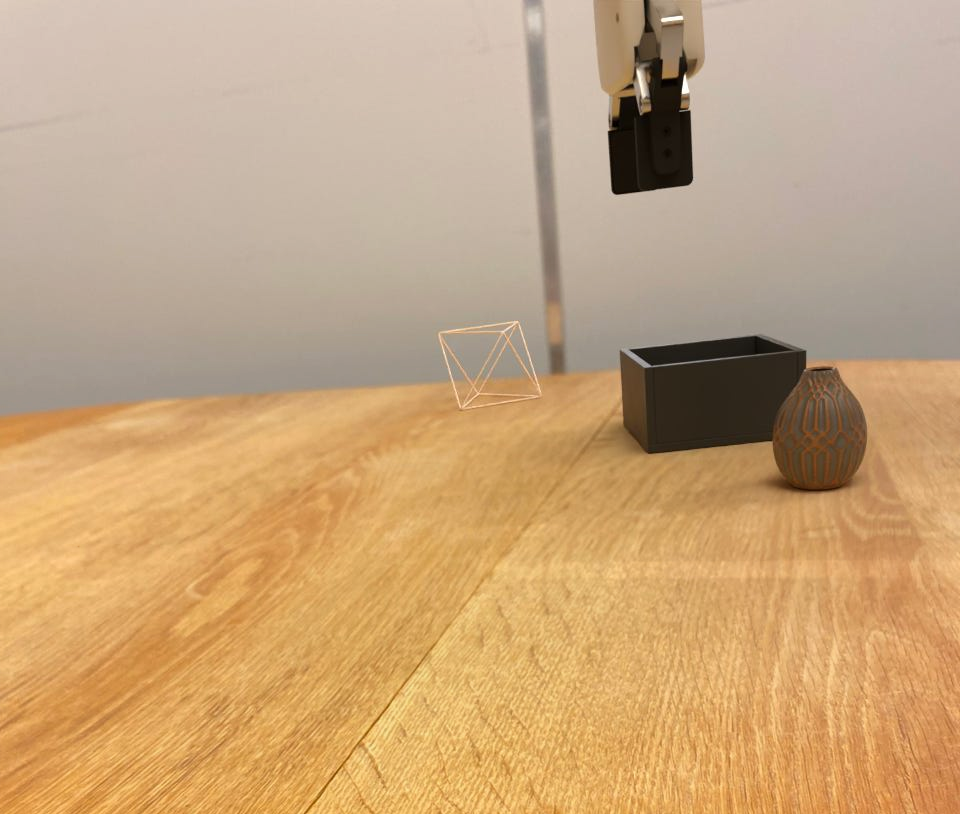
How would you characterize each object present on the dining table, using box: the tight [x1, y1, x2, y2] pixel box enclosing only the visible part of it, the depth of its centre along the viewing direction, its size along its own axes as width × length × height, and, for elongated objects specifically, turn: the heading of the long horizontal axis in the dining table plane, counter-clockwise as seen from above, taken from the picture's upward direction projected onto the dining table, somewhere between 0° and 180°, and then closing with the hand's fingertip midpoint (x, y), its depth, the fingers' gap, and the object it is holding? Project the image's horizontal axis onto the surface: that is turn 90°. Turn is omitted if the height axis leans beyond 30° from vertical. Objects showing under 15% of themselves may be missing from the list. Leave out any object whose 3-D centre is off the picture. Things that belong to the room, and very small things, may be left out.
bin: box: [619, 333, 807, 454], centre depth 103 cm, size 15×15×8 cm
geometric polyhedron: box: [437, 320, 543, 411], centre depth 133 cm, size 12×11×9 cm
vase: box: [771, 365, 868, 491], centre depth 81 cm, size 7×7×9 cm
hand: (649, 190), depth 68 cm, fingers open, 9 cm apart
